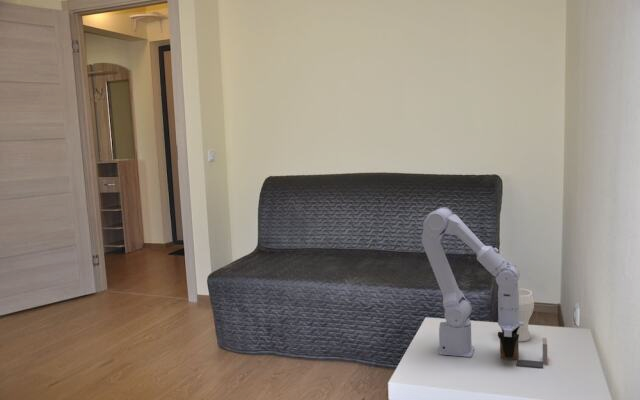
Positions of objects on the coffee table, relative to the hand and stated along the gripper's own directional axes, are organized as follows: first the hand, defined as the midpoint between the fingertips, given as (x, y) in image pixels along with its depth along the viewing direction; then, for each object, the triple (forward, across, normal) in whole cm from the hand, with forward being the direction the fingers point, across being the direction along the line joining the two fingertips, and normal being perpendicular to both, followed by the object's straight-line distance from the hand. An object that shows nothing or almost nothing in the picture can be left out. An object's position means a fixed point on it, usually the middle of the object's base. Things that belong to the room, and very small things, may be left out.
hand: (509, 352), depth 159 cm
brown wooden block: (+2, 0, 0) cm, 2 cm away
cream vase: (+2, +18, -2) cm, 18 cm away
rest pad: (+2, -4, -6) cm, 7 cm away
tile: (+2, 0, -10) cm, 10 cm away
